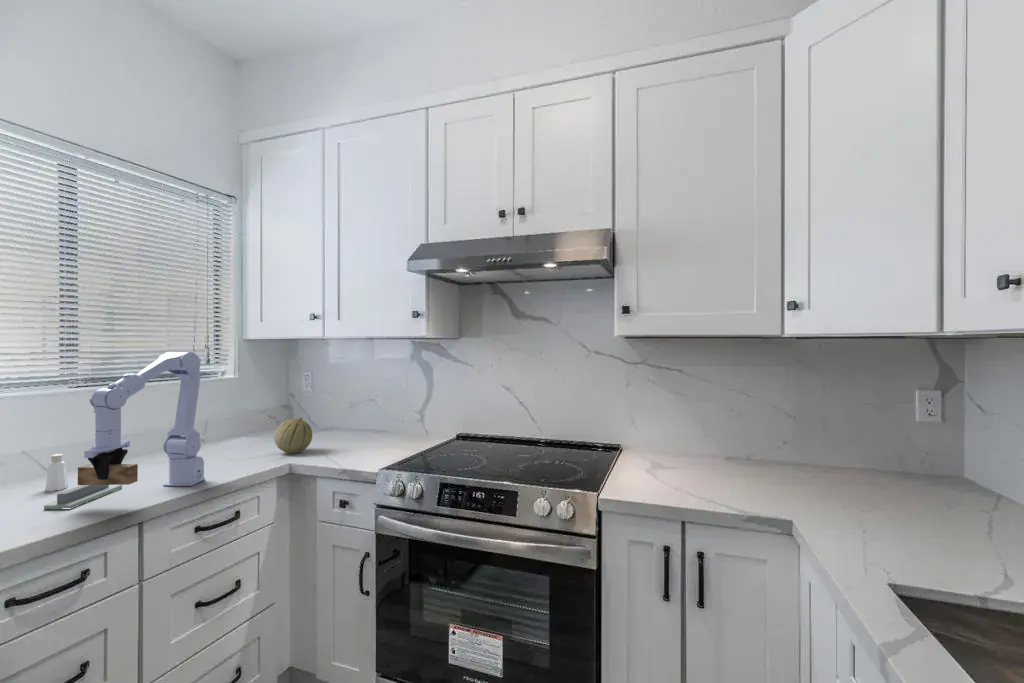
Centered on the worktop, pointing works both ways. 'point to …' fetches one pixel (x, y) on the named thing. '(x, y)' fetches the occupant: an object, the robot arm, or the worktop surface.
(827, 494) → the worktop surface
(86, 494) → the ridge stand
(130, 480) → the walnut bar
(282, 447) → the cantaloupe
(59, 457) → the pepper shaker
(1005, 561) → the worktop surface
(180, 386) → the robot arm
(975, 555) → the worktop surface
